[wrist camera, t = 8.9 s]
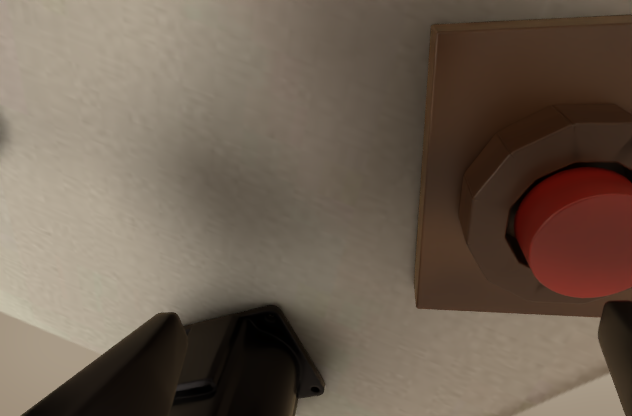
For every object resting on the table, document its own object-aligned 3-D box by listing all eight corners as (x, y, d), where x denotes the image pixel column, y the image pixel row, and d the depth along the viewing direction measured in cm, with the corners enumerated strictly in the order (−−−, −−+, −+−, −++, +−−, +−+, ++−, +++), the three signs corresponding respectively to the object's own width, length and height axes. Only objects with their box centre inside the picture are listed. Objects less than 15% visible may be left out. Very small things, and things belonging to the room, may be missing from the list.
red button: (619, 265, 14) (647, 301, 13) (505, 261, 15) (518, 296, 13) (656, 165, 12) (694, 194, 11) (524, 165, 13) (542, 193, 11)
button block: (629, 291, 18) (677, 357, 15) (413, 283, 20) (419, 341, 17) (740, 9, 13) (850, 24, 10) (430, 24, 14) (443, 42, 11)
